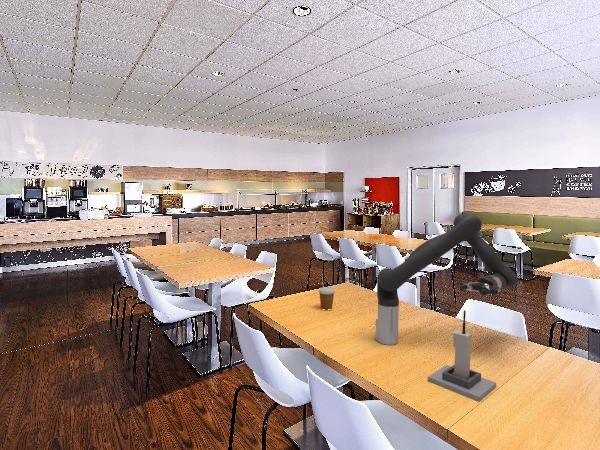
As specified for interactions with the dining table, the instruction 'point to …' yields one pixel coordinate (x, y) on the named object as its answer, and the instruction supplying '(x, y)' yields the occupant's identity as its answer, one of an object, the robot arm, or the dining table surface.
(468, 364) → the vintage mobile phone
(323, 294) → the disposable coffee cup
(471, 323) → the dining table surface
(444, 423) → the dining table surface
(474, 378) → the dock board
